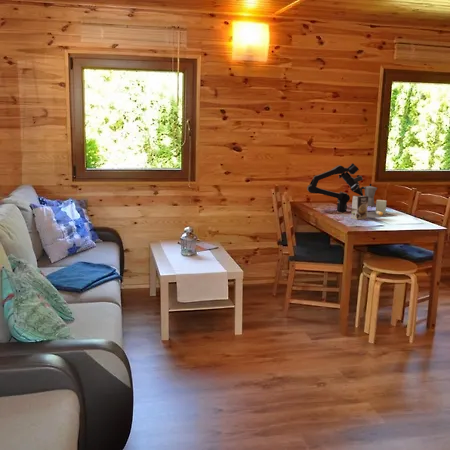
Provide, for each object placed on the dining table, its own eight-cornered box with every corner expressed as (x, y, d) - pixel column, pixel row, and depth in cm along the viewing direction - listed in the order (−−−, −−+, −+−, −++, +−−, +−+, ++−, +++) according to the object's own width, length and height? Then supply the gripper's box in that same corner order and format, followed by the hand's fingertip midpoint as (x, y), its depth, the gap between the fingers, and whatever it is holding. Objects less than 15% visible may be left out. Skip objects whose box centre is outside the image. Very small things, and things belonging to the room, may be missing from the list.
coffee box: (356, 220, 361) (358, 196, 358) (350, 218, 367) (352, 195, 363) (366, 219, 365) (368, 196, 362) (360, 217, 371) (362, 195, 368)
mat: (372, 218, 368) (372, 217, 367) (354, 213, 385) (354, 212, 385) (398, 216, 378) (398, 216, 378) (379, 212, 396) (379, 211, 395)
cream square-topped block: (385, 214, 383) (386, 201, 381) (375, 213, 384) (376, 200, 382) (384, 212, 389) (386, 200, 387) (375, 212, 391) (376, 199, 389)
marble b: (380, 216, 374) (380, 212, 373) (377, 215, 377) (377, 211, 376) (383, 216, 375) (384, 212, 375) (380, 215, 378) (381, 211, 377)
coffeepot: (373, 204, 429) (375, 183, 426) (379, 206, 420) (381, 184, 417) (356, 204, 426) (357, 182, 422) (361, 206, 417) (363, 184, 413)
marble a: (378, 215, 377) (378, 211, 377) (375, 214, 380) (375, 210, 380) (381, 215, 379) (381, 211, 378) (378, 214, 381) (378, 210, 381)
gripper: (356, 172, 377) (371, 189, 376) (356, 170, 394) (370, 185, 394) (344, 183, 380) (359, 199, 380) (345, 180, 398) (359, 195, 398)
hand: (362, 194), depth 388 cm, fingers open, 9 cm apart
